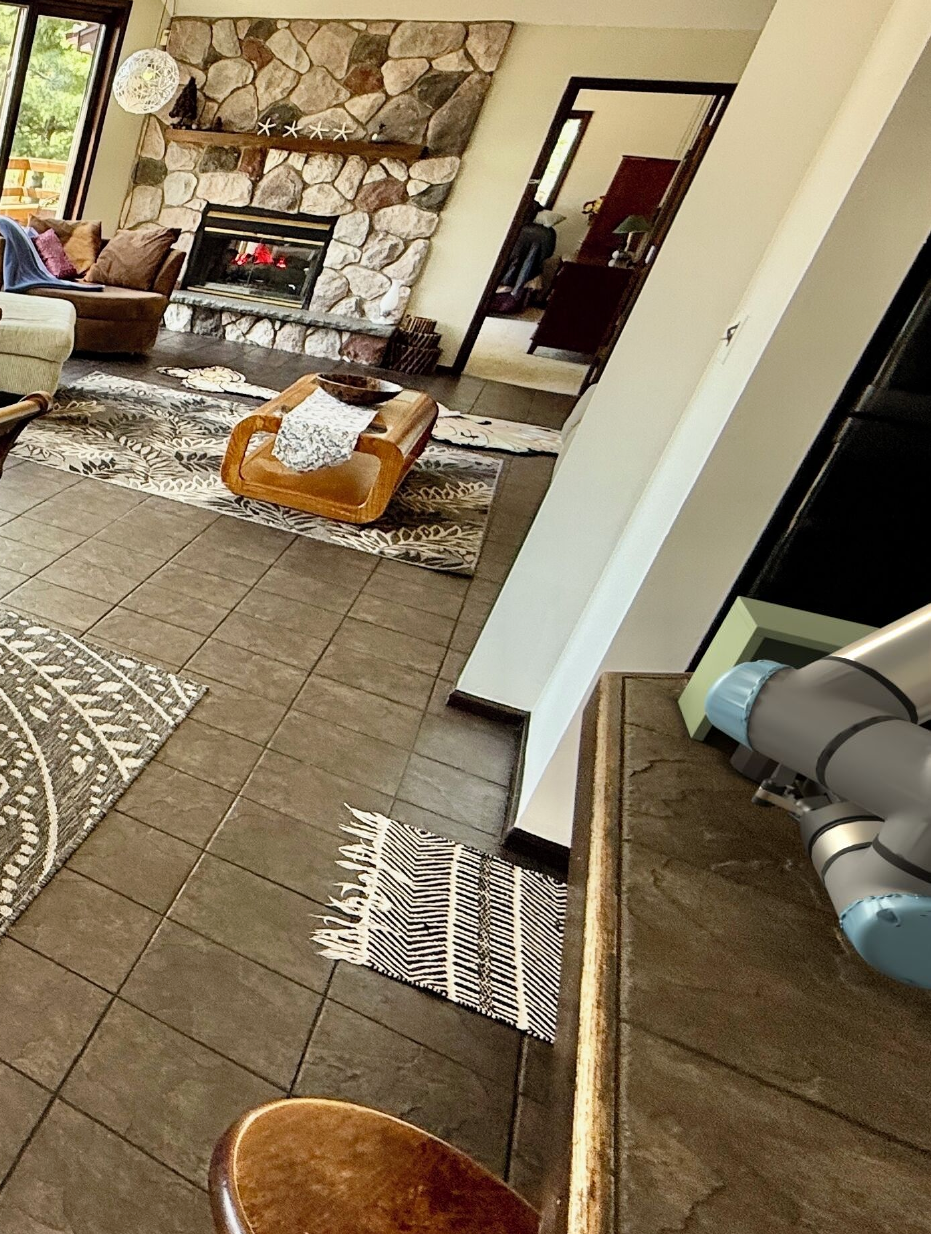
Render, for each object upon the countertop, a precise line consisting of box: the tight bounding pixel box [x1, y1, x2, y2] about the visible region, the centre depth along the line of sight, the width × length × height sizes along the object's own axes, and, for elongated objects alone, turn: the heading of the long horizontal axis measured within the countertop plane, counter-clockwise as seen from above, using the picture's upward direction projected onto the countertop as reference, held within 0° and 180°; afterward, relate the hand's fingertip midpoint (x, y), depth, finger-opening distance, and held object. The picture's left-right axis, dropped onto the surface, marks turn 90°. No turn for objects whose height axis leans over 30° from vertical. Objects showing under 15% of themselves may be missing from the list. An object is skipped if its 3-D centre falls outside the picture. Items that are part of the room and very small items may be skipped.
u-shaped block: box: [677, 595, 881, 742], centre depth 114 cm, size 13×12×15 cm
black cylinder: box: [729, 742, 803, 797], centre depth 107 cm, size 7×7×10 cm
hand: (811, 750), depth 104 cm, fingers closed
